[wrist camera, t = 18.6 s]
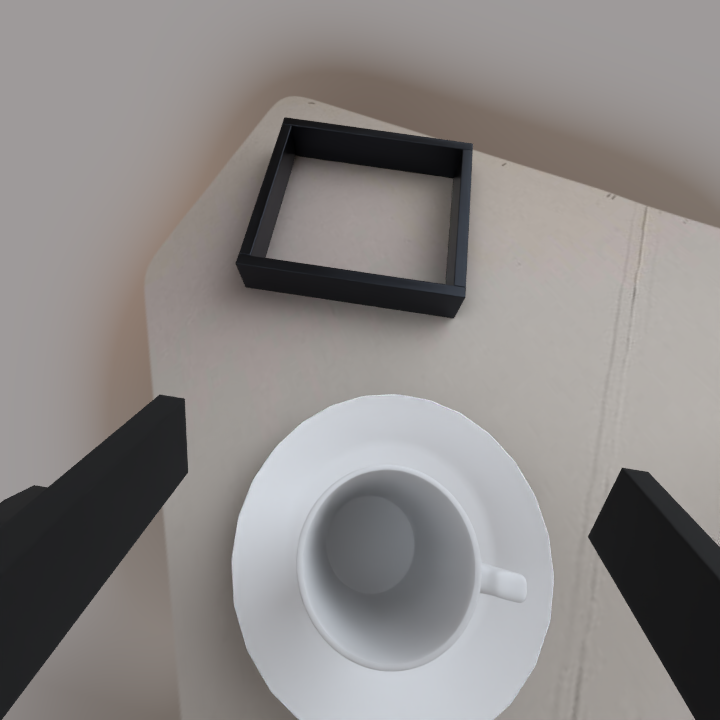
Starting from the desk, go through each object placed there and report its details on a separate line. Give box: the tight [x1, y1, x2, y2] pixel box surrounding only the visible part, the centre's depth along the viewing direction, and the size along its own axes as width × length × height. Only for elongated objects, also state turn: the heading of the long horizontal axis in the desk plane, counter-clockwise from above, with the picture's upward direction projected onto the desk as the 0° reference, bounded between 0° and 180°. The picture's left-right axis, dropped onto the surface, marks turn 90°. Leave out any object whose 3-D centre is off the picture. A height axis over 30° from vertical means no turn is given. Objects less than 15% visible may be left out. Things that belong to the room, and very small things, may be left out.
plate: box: [231, 394, 554, 720], centre depth 26 cm, size 21×21×2 cm
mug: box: [296, 465, 527, 672], centre depth 20 cm, size 10×7×12 cm, turn 77°
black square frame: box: [236, 118, 473, 318], centre depth 36 cm, size 19×18×4 cm
